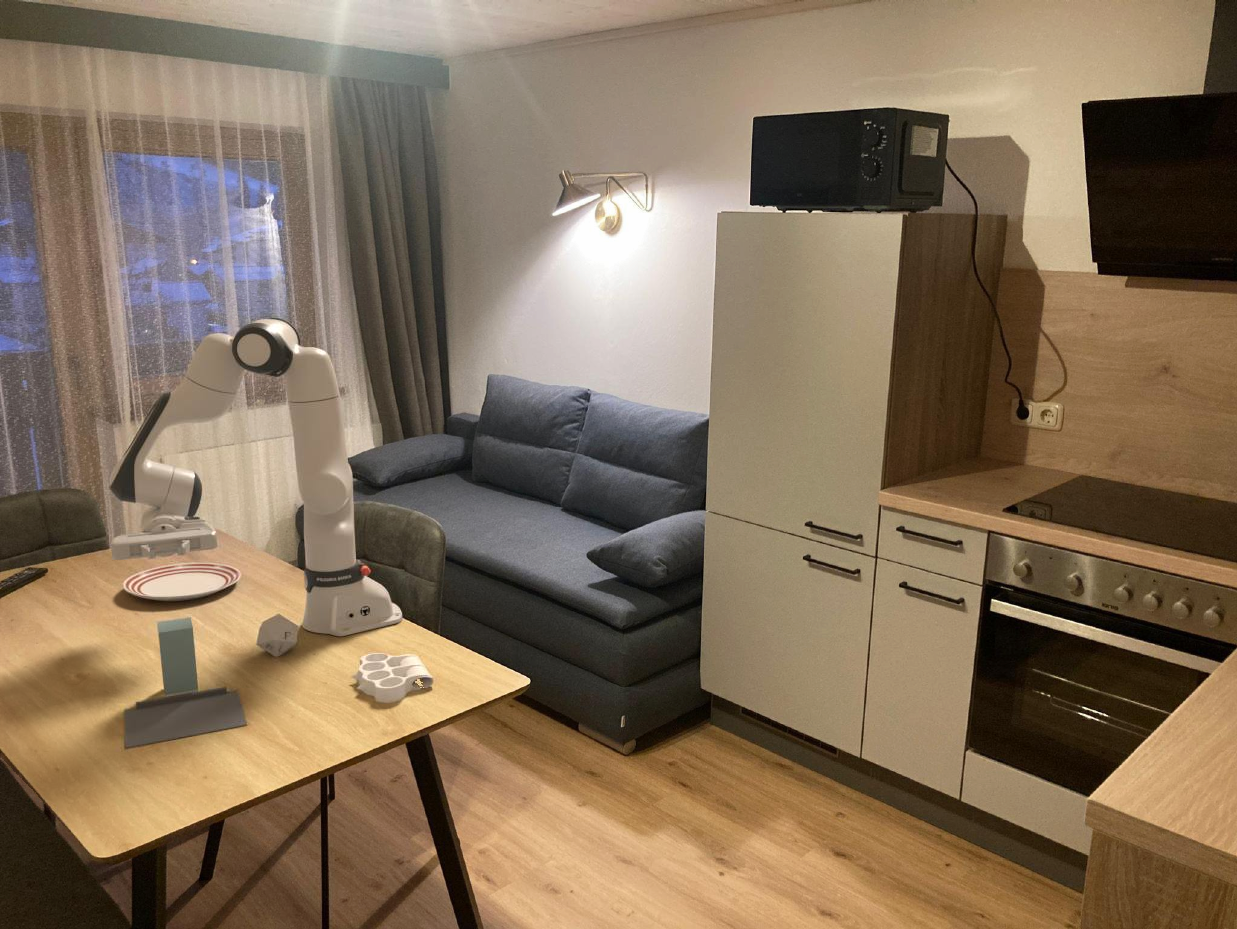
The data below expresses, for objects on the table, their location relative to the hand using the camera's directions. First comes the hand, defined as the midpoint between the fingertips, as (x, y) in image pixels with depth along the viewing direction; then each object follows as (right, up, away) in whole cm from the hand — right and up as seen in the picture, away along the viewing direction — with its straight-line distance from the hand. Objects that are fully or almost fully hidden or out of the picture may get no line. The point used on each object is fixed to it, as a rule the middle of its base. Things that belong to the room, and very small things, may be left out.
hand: (166, 553), depth 202 cm
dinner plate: (-18, -14, +49) cm, 54 cm away
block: (+6, -27, -8) cm, 28 cm away
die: (+19, -23, +11) cm, 32 cm away
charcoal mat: (+12, -29, -18) cm, 36 cm away
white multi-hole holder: (+46, -26, -3) cm, 53 cm away
